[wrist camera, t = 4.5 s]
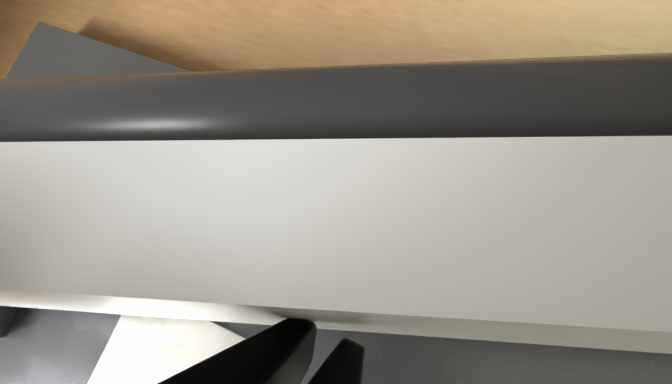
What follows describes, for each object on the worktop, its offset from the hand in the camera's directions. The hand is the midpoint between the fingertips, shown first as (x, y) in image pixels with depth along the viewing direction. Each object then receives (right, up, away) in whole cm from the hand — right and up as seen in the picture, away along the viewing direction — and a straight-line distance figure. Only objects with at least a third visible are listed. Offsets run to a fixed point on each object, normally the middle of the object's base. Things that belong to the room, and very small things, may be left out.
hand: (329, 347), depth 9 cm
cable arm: (-1, +1, +6) cm, 6 cm away
